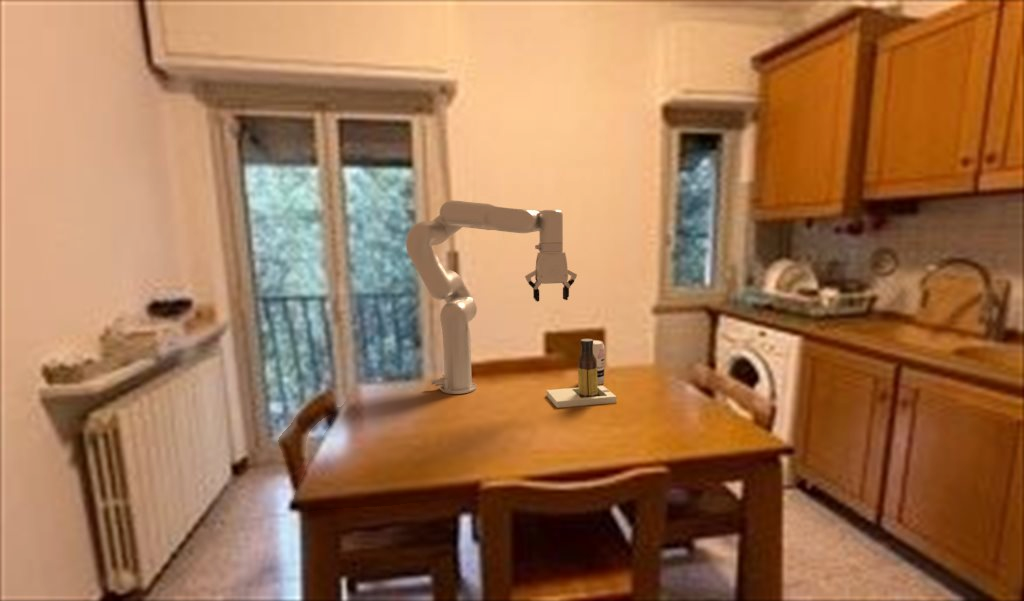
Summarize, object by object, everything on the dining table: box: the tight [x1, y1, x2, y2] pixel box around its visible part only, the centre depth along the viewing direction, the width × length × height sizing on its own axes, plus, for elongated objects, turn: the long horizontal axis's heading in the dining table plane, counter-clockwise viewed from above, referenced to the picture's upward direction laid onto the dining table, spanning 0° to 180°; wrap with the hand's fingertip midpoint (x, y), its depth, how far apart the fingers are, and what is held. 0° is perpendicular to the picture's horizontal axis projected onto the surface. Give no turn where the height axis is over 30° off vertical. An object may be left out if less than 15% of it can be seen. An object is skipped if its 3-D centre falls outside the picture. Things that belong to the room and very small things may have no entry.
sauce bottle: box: [577, 338, 598, 398], centre depth 185 cm, size 6×6×20 cm
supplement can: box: [592, 339, 606, 386], centre depth 202 cm, size 8×8×15 cm
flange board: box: [546, 385, 617, 409], centre depth 186 cm, size 20×12×2 cm, turn 102°
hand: (551, 300), depth 186 cm, fingers open, 9 cm apart
